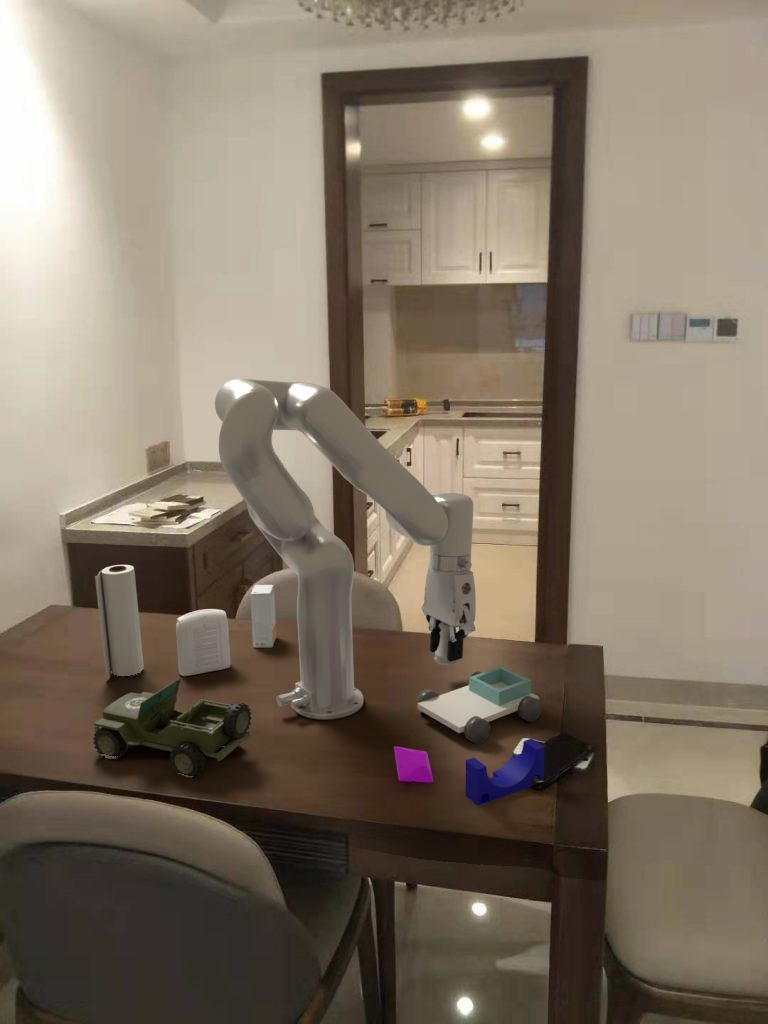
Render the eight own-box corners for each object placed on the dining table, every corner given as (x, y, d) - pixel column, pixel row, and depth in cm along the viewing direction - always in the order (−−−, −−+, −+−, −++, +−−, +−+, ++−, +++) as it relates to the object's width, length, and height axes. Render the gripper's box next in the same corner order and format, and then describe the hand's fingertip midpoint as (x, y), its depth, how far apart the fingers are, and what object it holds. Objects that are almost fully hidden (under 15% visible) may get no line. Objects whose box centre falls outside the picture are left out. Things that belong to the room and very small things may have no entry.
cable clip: (524, 769, 134) (525, 734, 133) (543, 783, 131) (544, 746, 129) (459, 792, 129) (459, 755, 127) (477, 807, 125) (477, 769, 123)
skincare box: (273, 647, 183) (270, 593, 180) (252, 648, 183) (249, 593, 180) (277, 636, 189) (274, 584, 186) (257, 637, 189) (254, 584, 186)
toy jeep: (137, 723, 152) (131, 664, 150) (261, 749, 142) (257, 687, 140) (88, 756, 141) (81, 694, 139) (218, 787, 131) (213, 721, 129)
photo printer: (227, 660, 177) (223, 602, 174) (233, 668, 173) (229, 609, 170) (176, 671, 173) (171, 612, 170) (182, 679, 169) (176, 618, 166)
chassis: (466, 748, 140) (466, 717, 139) (411, 715, 152) (410, 686, 151) (546, 716, 151) (546, 686, 149) (488, 687, 162) (488, 659, 161)
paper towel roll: (142, 663, 177) (133, 562, 171) (144, 675, 171) (134, 570, 166) (105, 668, 174) (94, 566, 169) (106, 681, 169) (94, 575, 164)
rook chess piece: (456, 666, 162) (458, 625, 160) (432, 664, 163) (433, 623, 161) (459, 657, 166) (460, 617, 164) (435, 655, 167) (437, 615, 165)
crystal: (401, 789, 130) (400, 761, 128) (392, 771, 135) (391, 743, 134) (434, 784, 131) (434, 756, 130) (424, 766, 136) (424, 739, 135)
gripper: (496, 569, 155) (491, 666, 160) (436, 548, 169) (433, 637, 173) (464, 576, 151) (460, 674, 155) (405, 553, 164) (402, 645, 169)
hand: (446, 654), depth 164 cm, fingers closed on rook chess piece, 4 cm apart
